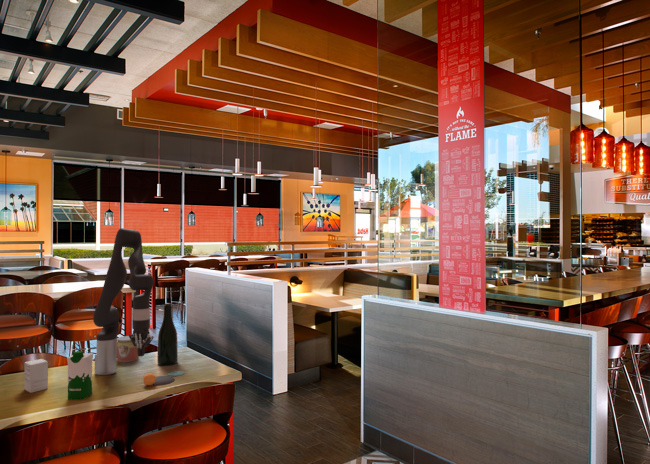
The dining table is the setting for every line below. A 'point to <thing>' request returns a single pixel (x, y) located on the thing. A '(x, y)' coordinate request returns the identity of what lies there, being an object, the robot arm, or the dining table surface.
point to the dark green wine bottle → (167, 339)
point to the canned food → (126, 350)
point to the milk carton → (79, 375)
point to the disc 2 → (176, 373)
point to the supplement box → (36, 375)
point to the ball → (149, 379)
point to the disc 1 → (163, 380)
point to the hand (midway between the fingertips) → (141, 355)
